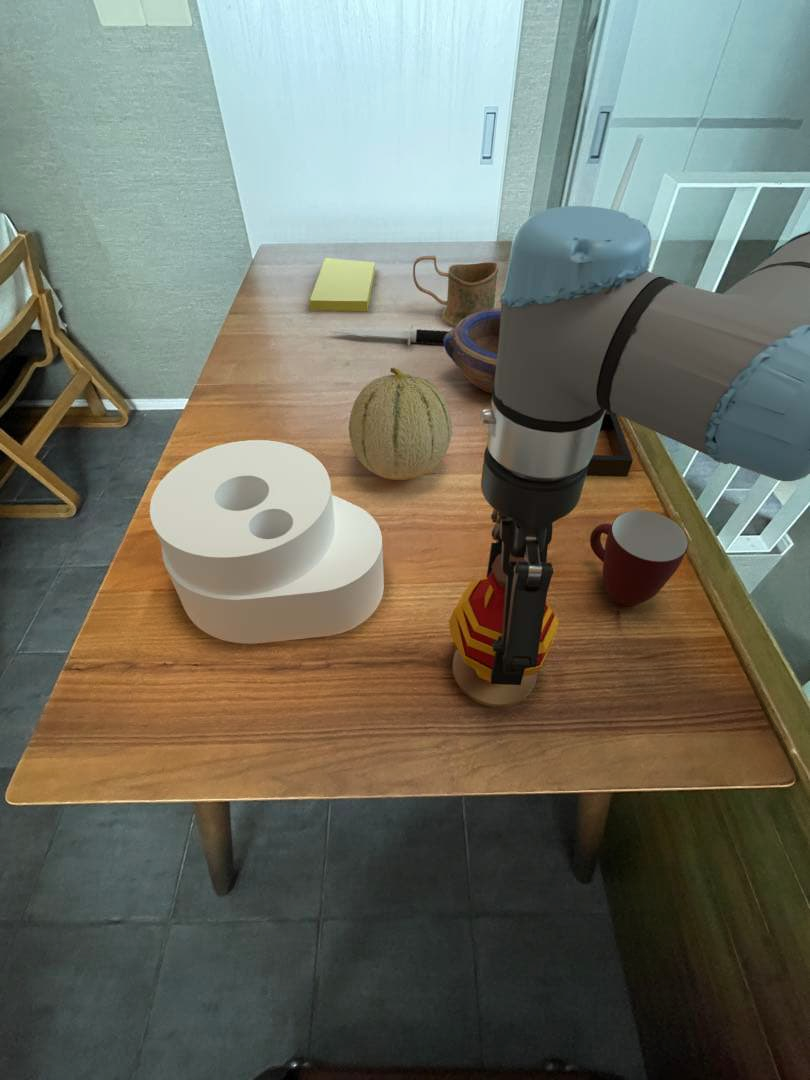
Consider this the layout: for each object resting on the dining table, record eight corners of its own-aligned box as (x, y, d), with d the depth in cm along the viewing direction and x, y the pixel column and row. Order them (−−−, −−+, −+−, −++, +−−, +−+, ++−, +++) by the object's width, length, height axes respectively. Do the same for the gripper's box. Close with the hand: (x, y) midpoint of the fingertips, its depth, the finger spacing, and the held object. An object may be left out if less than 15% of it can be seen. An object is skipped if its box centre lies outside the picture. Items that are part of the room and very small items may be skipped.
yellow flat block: (367, 311, 125) (375, 267, 141) (366, 301, 123) (375, 258, 140) (310, 310, 125) (326, 267, 142) (309, 300, 123) (325, 257, 140)
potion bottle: (494, 607, 67) (511, 511, 56) (565, 668, 61) (599, 574, 51) (425, 657, 62) (429, 563, 52) (495, 727, 57) (516, 638, 46)
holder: (627, 476, 86) (633, 460, 84) (541, 473, 86) (544, 457, 84) (610, 426, 95) (615, 411, 92) (532, 424, 95) (535, 409, 93)
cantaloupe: (385, 515, 80) (382, 422, 69) (333, 459, 89) (323, 370, 78) (470, 476, 86) (479, 386, 75) (414, 428, 94) (415, 341, 84)
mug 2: (560, 580, 72) (577, 521, 65) (598, 548, 76) (618, 489, 68) (635, 632, 66) (663, 574, 59) (672, 595, 70) (703, 536, 63)
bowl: (497, 422, 95) (505, 367, 88) (430, 377, 106) (431, 323, 99) (573, 388, 103) (585, 334, 96) (503, 348, 113) (509, 296, 106)
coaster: (552, 664, 63) (553, 661, 63) (506, 724, 59) (507, 721, 58) (483, 621, 67) (483, 618, 67) (435, 673, 63) (435, 670, 62)
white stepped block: (359, 667, 63) (350, 586, 53) (149, 626, 67) (105, 543, 57) (400, 539, 77) (399, 455, 67) (224, 511, 81) (199, 428, 71)
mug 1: (413, 304, 127) (414, 245, 118) (495, 305, 127) (501, 246, 118) (412, 328, 119) (412, 267, 110) (498, 330, 118) (506, 268, 110)
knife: (461, 326, 114) (459, 338, 111) (460, 338, 116) (459, 350, 113) (331, 319, 116) (326, 330, 113) (332, 331, 118) (327, 342, 115)
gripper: (479, 369, 50) (461, 546, 66) (494, 568, 34) (466, 739, 50) (566, 371, 50) (528, 549, 66) (623, 573, 34) (554, 743, 50)
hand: (501, 631), depth 58 cm, fingers closed on potion bottle, 10 cm apart
